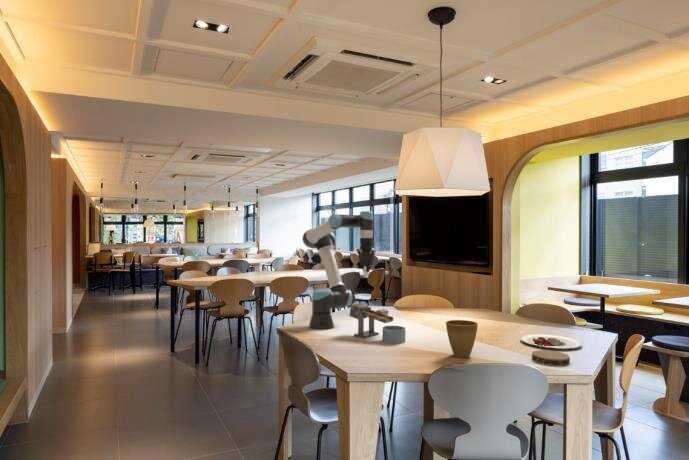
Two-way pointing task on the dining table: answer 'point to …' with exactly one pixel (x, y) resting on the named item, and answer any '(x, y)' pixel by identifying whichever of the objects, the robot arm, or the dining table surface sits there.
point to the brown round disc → (550, 357)
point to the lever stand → (361, 331)
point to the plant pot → (461, 336)
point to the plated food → (550, 341)
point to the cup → (394, 334)
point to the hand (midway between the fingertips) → (366, 277)
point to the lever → (370, 313)
